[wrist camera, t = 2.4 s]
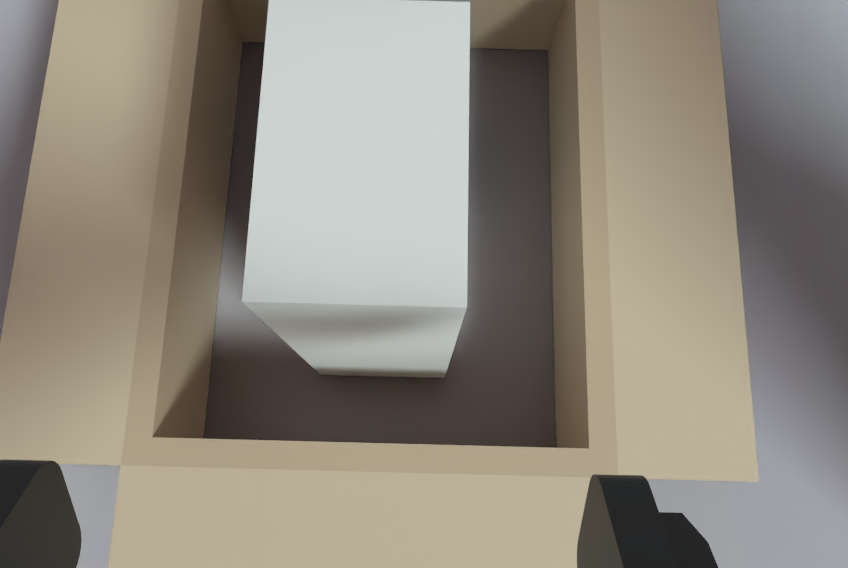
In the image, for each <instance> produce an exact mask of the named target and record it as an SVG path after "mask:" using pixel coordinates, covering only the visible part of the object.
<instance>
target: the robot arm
mask: <svg viewBox="0 0 848 568" xmlns="http://www.w3.org/2000/svg"><path fill="white" fill-rule="evenodd" d="M80 549H81V530H80V526H79V523H78V520H77V517H76V514H75V511H74V508H73V505H72V502H71V498H70V495H69V492H68V489H67V486H66V483H65V480H64V477H63V474H62V471H61V468H60V466H59V465H58V464H57V463H56V462H55V461H47V460H0V568H76V566H77V563H78V559H79V555H80ZM577 568H718V566H717V564H716V561H715V559H714V556H713V554H712V552H711V549H710V547H709V544H708V542H707V541H706V540H705V539H704V538H703V536H702V535H701V534H700V533H699V532H698V531H697V530H696V529H695V527H694V526H693V525H692V524H691V523H690V522H689V521H688V519H687V518H686V517H685V516H684V515H683V514H682V513H661V512H659V511H658V509H657V506H656V503H655V500H654V497H653V494H652V491H651V489H650V486H649V483H648V481H647V480H646V478H645V477H644V476H642V475H598V474H594V475H592V477H591V479H590V482H589V487H588V492H587V497H586V502H585V507H584V512H583V517H582V522H581V527H580V532H579V537H578V544H577Z"/></svg>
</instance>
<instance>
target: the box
mask: <svg viewBox="0 0 848 568" xmlns="http://www.w3.org/2000/svg"><path fill="white" fill-rule="evenodd" d="M469 70H470V0H269V3H268V15H267V26H266V37H265V48H264V59H263V70H262V81H261V93H260V104H259V115H258V126H257V137H256V148H255V159H254V170H253V182H252V193H251V204H250V215H249V226H248V237H247V248H246V259H245V271H244V282H243V293H242V302H243V303H244V304H245V305H246V306H247V307H248V308H249V309H250V310H251V311H252V312H253V313H255V314H256V315H257V316H258V317H259V318H260V319H261V320H262V321H263V322H264V323H265V324H266V325H267V326H269V327H270V328H271V329H272V330H273V331H274V332H275V333H276V334H277V335H278V336H279V337H280V338H281V339H283V340H284V341H285V342H286V343H287V344H288V345H289V346H290V347H291V348H292V349H293V350H294V351H296V352H297V353H298V354H299V355H300V356H301V357H302V358H303V359H304V360H305V361H306V362H307V363H308V364H310V365H311V366H312V367H313V368H314V369H315V370H316V371H317V372H318V373H319V374H320V375H348V376H387V377H425V378H445V375H446V372H447V369H448V366H449V363H450V359H451V356H452V353H453V350H454V347H455V344H456V341H457V337H458V334H459V331H460V328H461V325H462V322H463V319H464V316H465V312H466V309H467V265H468V167H469Z"/></svg>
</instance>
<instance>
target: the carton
mask: <svg viewBox="0 0 848 568" xmlns="http://www.w3.org/2000/svg"><path fill="white" fill-rule="evenodd" d="M268 3H269V0H59V2H58V8H57V14H56V20H55V25H54V31H53V37H52V43H51V49H50V54H49V60H48V66H47V72H46V78H45V83H44V89H43V95H42V101H41V106H40V112H39V118H38V124H37V130H36V135H35V141H34V147H33V153H32V159H31V164H30V170H29V176H28V182H27V187H26V193H25V199H24V205H23V211H22V216H21V222H20V228H19V234H18V240H17V245H16V251H15V257H14V263H13V268H12V274H11V280H10V286H9V292H8V297H7V303H6V309H5V315H4V321H3V326H2V332H1V338H0V460H47V461H55V462H56V463H57V464H84V465H121V466H120V474H119V482H118V490H117V498H116V506H115V514H114V522H113V530H112V538H111V546H110V554H109V562H108V568H577V544H578V537H579V532H580V527H581V522H582V517H583V512H584V507H585V502H586V497H587V492H588V487H589V482H590V479H591V477H592V475H594V474H598V475H642V476H644V477H645V478H646V479H670V480H709V481H748V482H759V475H758V463H757V452H756V440H755V429H754V418H753V406H752V395H751V383H750V372H749V360H748V349H747V337H746V326H745V314H744V303H743V292H742V280H741V269H740V257H739V246H738V234H737V223H736V211H735V200H734V188H733V177H732V166H731V154H730V143H729V131H728V120H727V108H726V97H725V85H724V74H723V62H722V51H721V40H720V28H719V17H718V5H717V0H470V48H484V49H521V50H548V69H549V119H550V169H551V218H552V268H553V318H554V367H555V417H556V448H550V447H511V446H472V445H433V444H394V443H355V442H317V441H278V440H239V439H204V429H205V419H206V409H207V399H208V389H209V379H210V368H211V358H212V348H213V338H214V328H215V318H216V308H217V297H218V287H219V277H220V267H221V257H222V247H223V237H224V226H225V216H226V206H227V196H228V186H229V176H230V166H231V155H232V145H233V135H234V125H235V115H236V105H237V94H238V84H239V74H240V64H241V54H242V44H243V42H263V43H265V37H266V26H267V15H268Z"/></svg>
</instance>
